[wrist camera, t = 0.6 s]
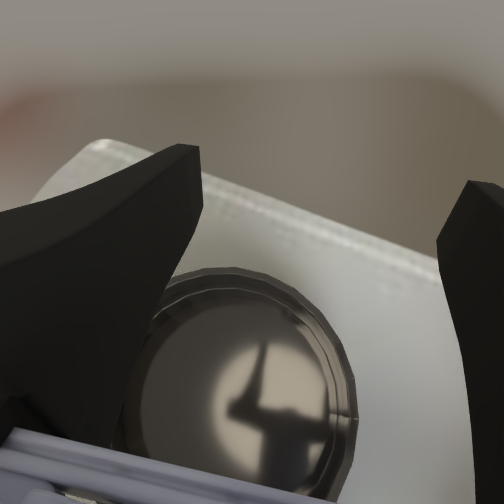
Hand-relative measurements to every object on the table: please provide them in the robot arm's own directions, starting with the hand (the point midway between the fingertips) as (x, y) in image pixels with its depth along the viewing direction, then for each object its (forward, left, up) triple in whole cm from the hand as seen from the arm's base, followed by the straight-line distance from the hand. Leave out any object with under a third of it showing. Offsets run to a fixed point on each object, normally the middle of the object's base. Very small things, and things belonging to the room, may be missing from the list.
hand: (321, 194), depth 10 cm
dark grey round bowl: (-4, +6, -17) cm, 19 cm away
